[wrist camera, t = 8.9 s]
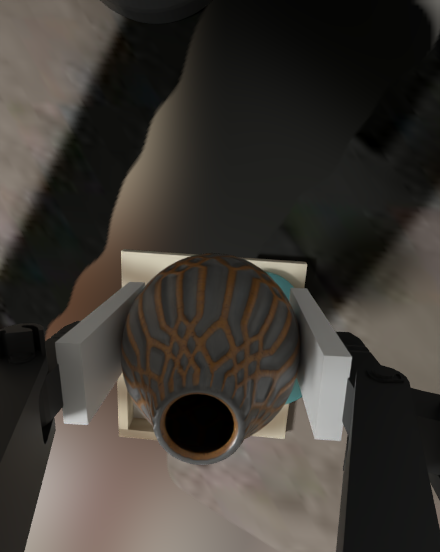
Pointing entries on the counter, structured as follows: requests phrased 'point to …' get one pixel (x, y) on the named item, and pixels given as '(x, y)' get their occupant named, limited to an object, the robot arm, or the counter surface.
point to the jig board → (149, 265)
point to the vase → (210, 354)
